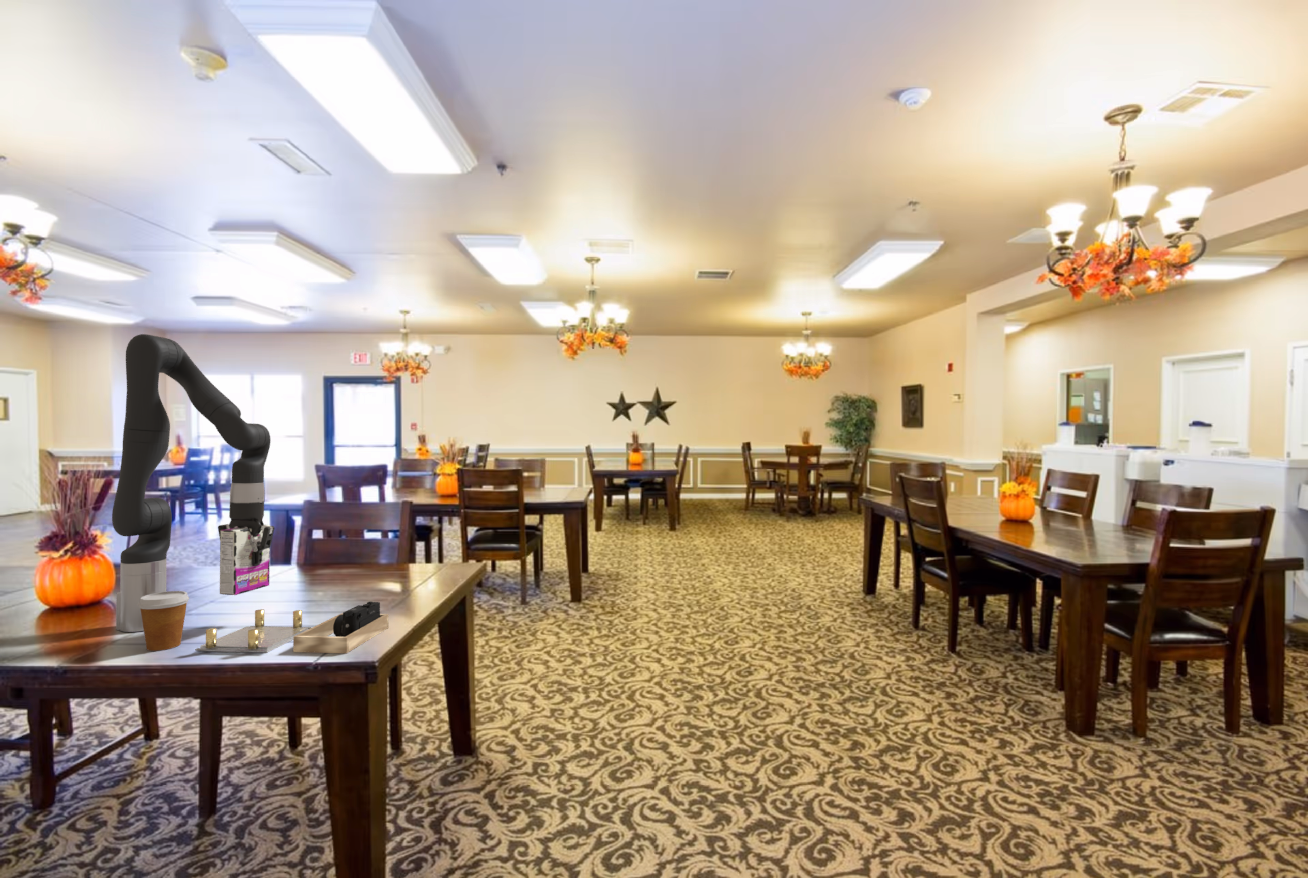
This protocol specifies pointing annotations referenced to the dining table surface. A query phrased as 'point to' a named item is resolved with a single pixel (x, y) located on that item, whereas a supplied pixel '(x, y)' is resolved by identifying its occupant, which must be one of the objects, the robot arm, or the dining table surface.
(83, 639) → the dining table surface
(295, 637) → the oak frame
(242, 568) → the candy bar box
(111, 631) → the dining table surface
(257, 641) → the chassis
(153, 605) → the disposable coffee cup
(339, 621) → the camera
